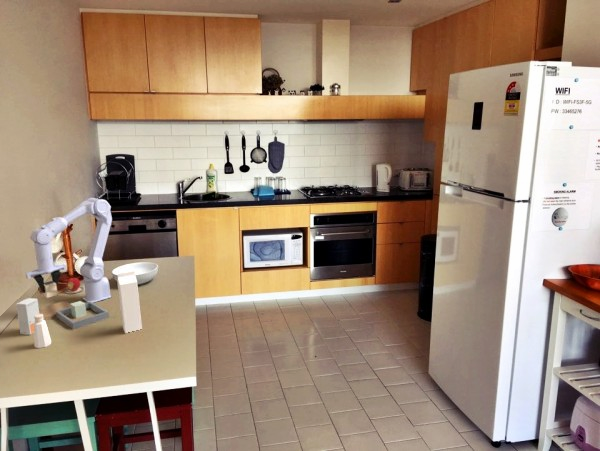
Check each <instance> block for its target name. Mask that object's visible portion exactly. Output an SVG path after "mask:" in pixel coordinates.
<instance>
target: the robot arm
mask: <svg viewBox="0 0 600 451" xmlns="http://www.w3.org/2000/svg"><path fill="white" fill-rule="evenodd" d="M111 208H112V206H111V205H110V203H109V202H108V201H107V200H106V199H102V198H101V199H100V198H96V197H88V198H87V199H86V200H83V201H82V202H81V203H80V204H79V205H77V207H75V208H73V209H71V211H69V212H68V213H66V214H65V215H63V216H62V217H59V216H57V217H52V218H51V220H50V221H49V222H47V223H46V224H42V225H40V228H38V227H37V228H36V229H34V230H32V232H31V234H30V236H29V237H30V240H31V241H32V242H33V245H34V252H35V259H36V266H37V269H35V270H31V271H29V272H25V278H26V279H28V280H29V279H31V278H33V279H34V280H35V281H36V283H37V285H38V286H39V289H40V292H41V293H42V294H43V293H45V288H44V283H45V280H44V279H45V277H43V275H47V274H50V275H51V279H52V280H51V281H53V282H55V283H56V286H57V287H59V280H60V277H61V275H62V272H61V271H67V270H68V269H67V265H66V264H64V263H63V264H58V265H55V262H54V257H53V251H52V246H51V243H52V240H53V238H54V237H56V236H58V235H59V234H60V233H62V232H64V231H65V230H66V229H67V228H68V224H71V223H72V222H74V221H75V220H77V219H78V218H80V217H82V216H84V215H87V214H88V215H93V217H94V218H95V219H96V220H97V223H96V227H95V230H94V234H93V238H92V242H91V245H90V249H89V250H90V251H89V254H88V257H87V258H85V259H84V262H83V264H82V265H81V266H80V268H79V273H80V275H81V276H82V277H83V284H84V285H83V286H84V291H85V292H84V293H85V297H83V298H82V300H84V301H85V302H86V303H87V302H92V303H94V304H95V303H96V302H97V303H98V302H100V301H104V300H107V299H110V298H112V296H111V289H110V282H109V279H108V278H107V277H106V276H104V274H105V272H104V267H105V264H104V262H103V257H104V252H105V249H106V244H107V242H108V237H109V233H110V229H111V226H112V221H113V217H112V213H111Z"/></svg>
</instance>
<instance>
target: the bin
mask: <svg viewBox="0 0 600 451" xmlns="http://www.w3.org/2000/svg"><path fill="white" fill-rule="evenodd" d="M84 303H85V307H86V310H89V309H90V310H92V311H94V312H96V313H97V314H95V315H90V316H89V317H88V316H87V317H85V318H82V319H78V320H75V321H74V320H73V319H71V318H69V317H68V316H69V315H72V313H71V307H70V308H66V309H63V310H59V311H56V315H57V317H56V318H57V319H58V320H60V321H62V322H63V323H64V324H66V325H67V326H68V327H69V328H71V329H72V330H76V329H79V328H82V327H84V326H88V325H91V324H94V323H97V322H100V321H103V319H104V320H106V318H107V319H109V318H110V315H109V311H108V310H106V309H104V308H103V307H100V306H99V305H97V304H95V302H94V303H92V302H87V301H86V302H84Z"/></svg>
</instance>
